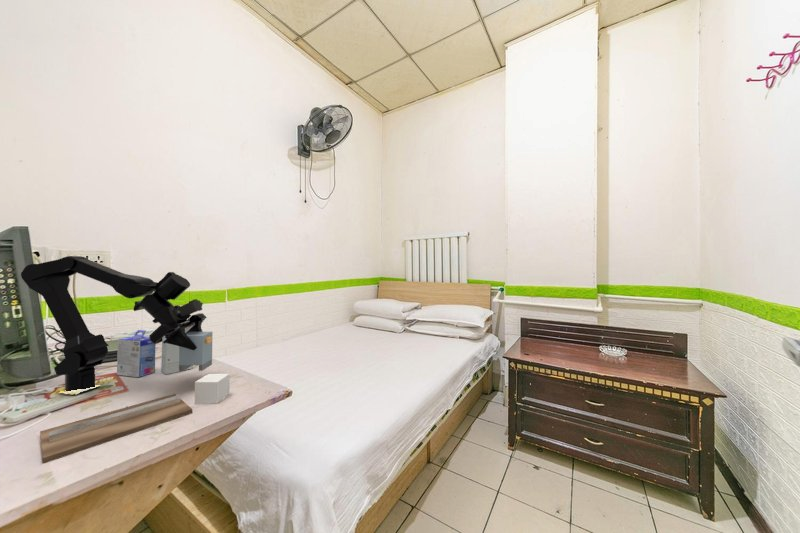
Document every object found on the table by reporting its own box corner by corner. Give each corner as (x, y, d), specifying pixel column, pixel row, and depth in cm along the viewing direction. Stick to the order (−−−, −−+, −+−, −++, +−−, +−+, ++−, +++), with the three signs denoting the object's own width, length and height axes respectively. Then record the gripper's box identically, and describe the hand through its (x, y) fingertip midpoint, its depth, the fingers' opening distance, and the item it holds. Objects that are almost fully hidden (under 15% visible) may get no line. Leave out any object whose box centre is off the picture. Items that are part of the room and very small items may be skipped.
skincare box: (164, 375, 98) (165, 331, 98) (160, 371, 102) (160, 328, 102) (194, 368, 105) (194, 327, 104) (189, 364, 108) (189, 325, 108)
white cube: (217, 404, 79) (217, 382, 79) (194, 404, 79) (194, 382, 79) (229, 394, 85) (229, 373, 85) (208, 394, 85) (208, 373, 85)
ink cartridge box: (156, 372, 101) (156, 330, 101) (139, 378, 96) (139, 334, 96) (134, 369, 103) (134, 328, 103) (116, 375, 98) (116, 332, 98)
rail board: (40, 435, 63) (40, 424, 63) (174, 397, 82) (174, 388, 82) (42, 463, 55) (42, 450, 55) (192, 412, 74) (192, 403, 74)
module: (178, 371, 86) (179, 336, 86) (190, 364, 92) (190, 331, 92) (204, 370, 87) (204, 335, 87) (214, 364, 93) (214, 331, 93)
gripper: (161, 295, 80) (204, 335, 81) (200, 289, 98) (234, 321, 99) (129, 324, 79) (173, 363, 80) (175, 312, 97) (209, 345, 99)
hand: (201, 346), depth 90 cm, fingers closed on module, 5 cm apart
